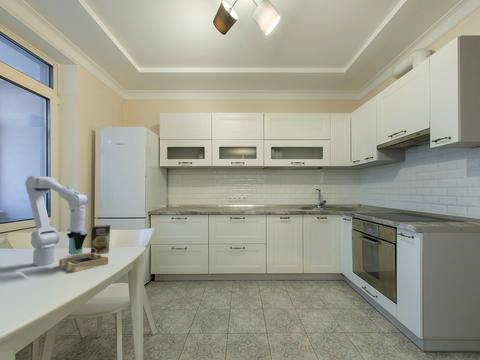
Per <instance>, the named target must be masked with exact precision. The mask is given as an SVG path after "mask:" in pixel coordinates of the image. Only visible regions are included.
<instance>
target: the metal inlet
mask: <svg viewBox="0 0 480 360" xmlns="http://www.w3.org/2000/svg"><path fill="white" fill-rule="evenodd" d="M92 260H97V259H95V258H93V257H90V256H89V257H85V258H80V259H75V260H70V263H73V264H79V263H83V262H88V261H92Z"/></svg>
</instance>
